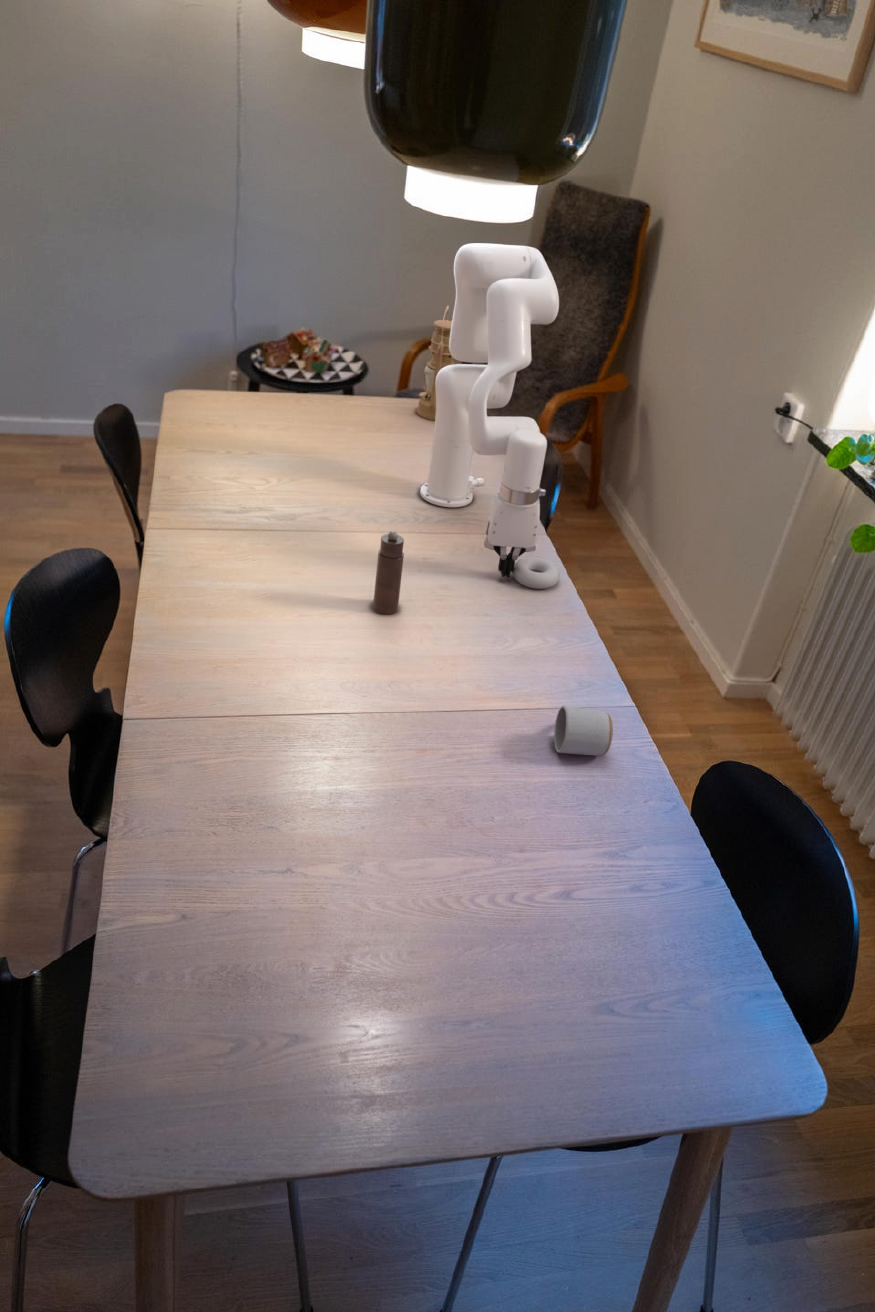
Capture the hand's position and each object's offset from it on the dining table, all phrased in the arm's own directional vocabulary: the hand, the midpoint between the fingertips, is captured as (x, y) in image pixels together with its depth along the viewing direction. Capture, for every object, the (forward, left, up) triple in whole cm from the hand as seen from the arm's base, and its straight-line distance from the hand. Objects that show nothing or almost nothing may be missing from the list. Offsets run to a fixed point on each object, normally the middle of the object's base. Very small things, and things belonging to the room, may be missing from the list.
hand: (504, 573), depth 208 cm
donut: (-6, +3, -1) cm, 7 cm away
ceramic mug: (+22, +50, -1) cm, 54 cm away
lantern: (-39, -84, -1) cm, 93 cm away
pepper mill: (+29, +1, -1) cm, 29 cm away
